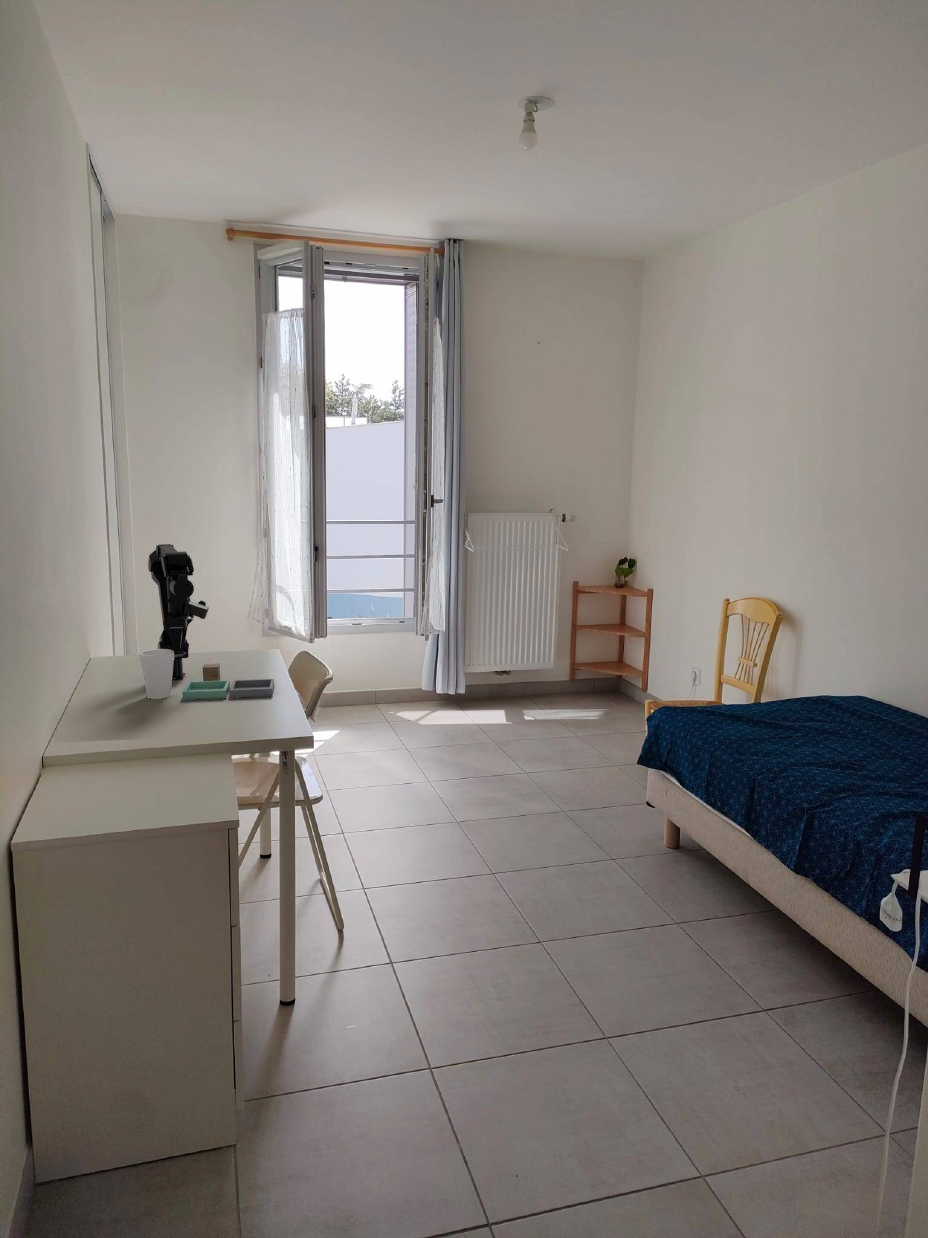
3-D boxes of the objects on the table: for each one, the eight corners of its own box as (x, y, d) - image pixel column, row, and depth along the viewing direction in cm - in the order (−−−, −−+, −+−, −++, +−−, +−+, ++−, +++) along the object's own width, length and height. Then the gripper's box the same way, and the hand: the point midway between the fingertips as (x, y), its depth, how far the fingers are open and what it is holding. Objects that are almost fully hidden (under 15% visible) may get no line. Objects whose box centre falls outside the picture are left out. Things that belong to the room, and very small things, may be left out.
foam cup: (181, 692, 259) (179, 649, 257) (168, 700, 250) (165, 656, 248) (150, 691, 260) (148, 648, 258) (136, 699, 251) (133, 655, 249)
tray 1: (188, 690, 262) (188, 681, 262) (230, 688, 264) (229, 680, 263) (182, 700, 250) (182, 692, 250) (226, 698, 252) (225, 690, 252)
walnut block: (205, 683, 271) (204, 664, 270) (220, 682, 271) (219, 663, 270) (203, 686, 266) (202, 667, 265) (218, 686, 267) (217, 666, 266)
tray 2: (233, 688, 264) (233, 680, 264) (274, 686, 266) (274, 678, 265) (229, 698, 252) (229, 690, 252) (272, 696, 254) (272, 688, 254)
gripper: (201, 598, 251) (204, 651, 254) (209, 589, 269) (212, 639, 272) (161, 599, 249) (164, 653, 252) (172, 590, 267) (174, 640, 270)
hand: (180, 646), depth 261 cm, fingers open, 9 cm apart
